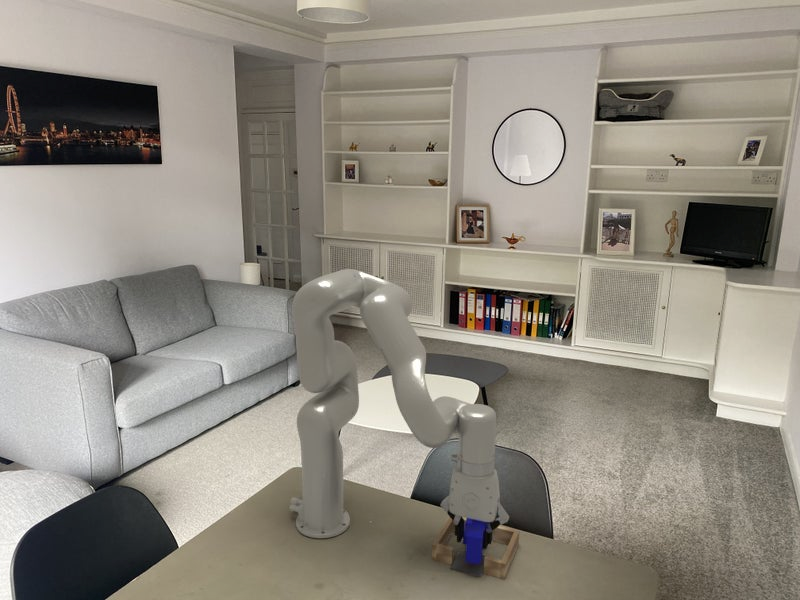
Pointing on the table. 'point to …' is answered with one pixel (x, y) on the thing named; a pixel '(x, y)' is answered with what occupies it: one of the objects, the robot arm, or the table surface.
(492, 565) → the walled box
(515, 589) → the table surface
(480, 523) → the blue stepped block
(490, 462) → the robot arm
